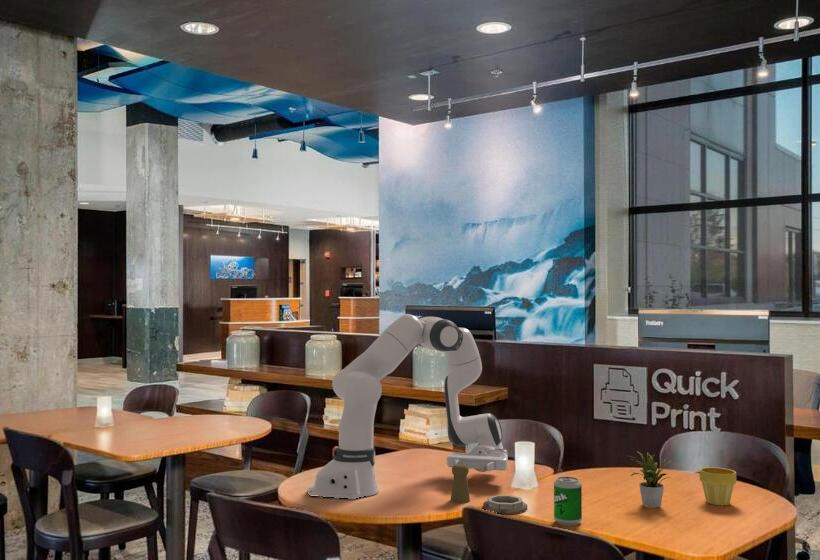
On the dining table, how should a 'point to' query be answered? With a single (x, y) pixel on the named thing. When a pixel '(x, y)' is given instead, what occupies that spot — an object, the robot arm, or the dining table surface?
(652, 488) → the house plant
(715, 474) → the plant pot
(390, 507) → the dining table surface
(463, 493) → the cork
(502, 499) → the grey octagonal ring
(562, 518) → the soda can
